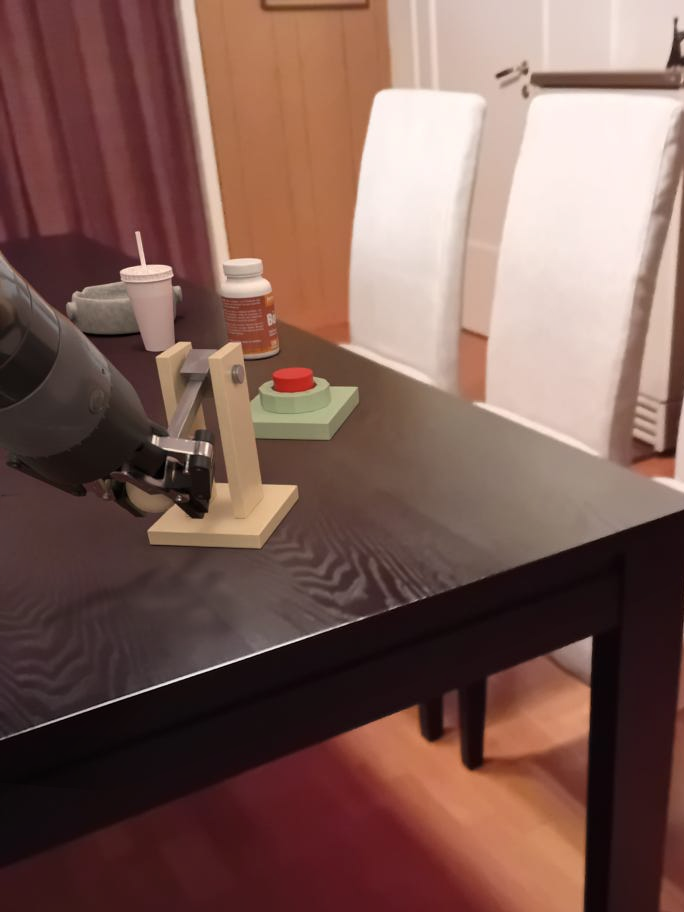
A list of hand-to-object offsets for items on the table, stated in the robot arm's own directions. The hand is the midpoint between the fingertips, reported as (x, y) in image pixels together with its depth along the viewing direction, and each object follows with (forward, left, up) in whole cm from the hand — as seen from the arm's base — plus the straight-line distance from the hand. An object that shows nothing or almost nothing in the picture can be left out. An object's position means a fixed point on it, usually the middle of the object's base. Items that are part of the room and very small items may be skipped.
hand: (172, 504), depth 72 cm
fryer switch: (+7, +6, -5) cm, 10 cm away
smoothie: (+28, +62, -5) cm, 68 cm away
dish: (+30, +77, -5) cm, 83 cm away
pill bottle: (+35, +50, -5) cm, 61 cm away
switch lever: (+3, +3, +3) cm, 5 cm away
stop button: (+25, +24, -2) cm, 34 cm away
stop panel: (+25, +24, -5) cm, 35 cm away
